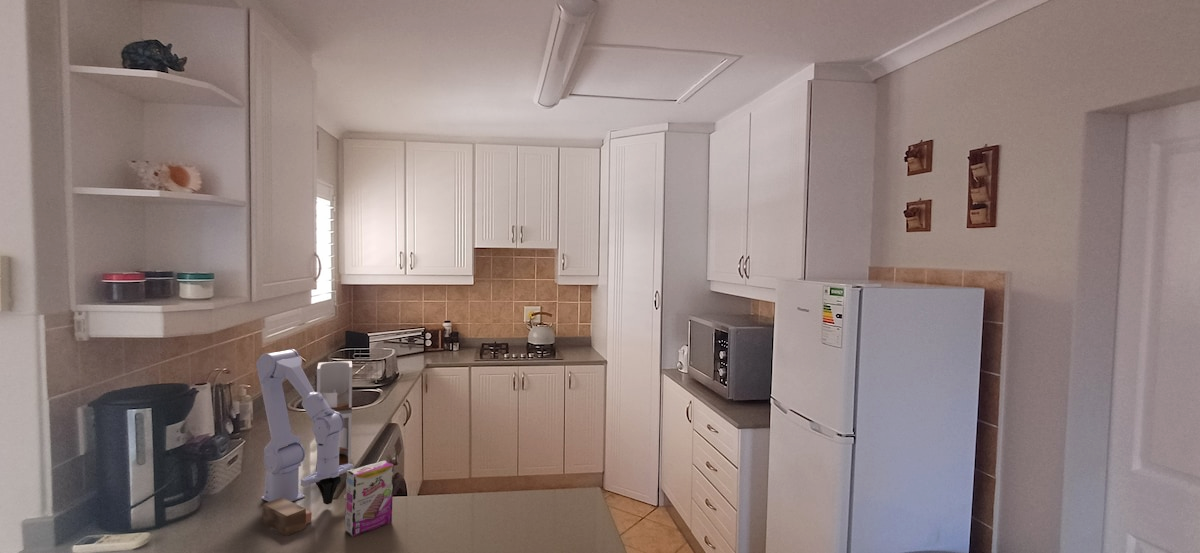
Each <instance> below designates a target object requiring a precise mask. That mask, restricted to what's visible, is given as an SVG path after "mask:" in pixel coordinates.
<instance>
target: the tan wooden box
mask: <svg viewBox="0 0 1200 553" xmlns="http://www.w3.org/2000/svg"><path fill="white" fill-rule="evenodd" d="M306 510H307V508H305V507H303V506H301V505H299V504H297V503H295V502H294V501H292V502H291V501H288V500H286V499H284V498H279V499H276V500H273V501H270V502H268V501H266V502H265V503H262V523H263V524H265V525H266V526H267V527H269V528H272V529H273V530H275V531H277V532H278V533H281V534H283V535H284V536H286V537H287V536H290V535H292V534H294V533H298V532H300V531H301V530H305V529H307V528H306V527H307V524H306Z"/></svg>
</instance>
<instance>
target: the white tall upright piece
mask: <svg viewBox="0 0 1200 553" xmlns="http://www.w3.org/2000/svg"><path fill="white" fill-rule="evenodd" d="M316 368H317V369H316V392H318V393H321V394H322V395H323V397H324V399H325V400H326V402H327V403H328V405H329V406H330V408H331V409H332V410H335V411H336V412H339V413H340V414H341V415H342V417H343V419H344V427H343V429H342V430H341V431H339V466H340V465H345V464H348V463H350V464H352V427H353V426H352V424H353V423H352V421H353V420H352V418H353V417H352V414H353V411H352V410H353V406H352V405H353V362H352V360H346V361H345V360H344V361H342V360H341V361H328V362H327V361H325V362H324V361H323V362H322V361H321V362H318V363H317V367H316ZM315 472H317V462H316V465H315Z"/></svg>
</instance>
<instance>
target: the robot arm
mask: <svg viewBox="0 0 1200 553" xmlns="http://www.w3.org/2000/svg"><path fill="white" fill-rule="evenodd" d="M302 365H303V359H302V358H301V357H300V353H298V351H297V350H296V349H293V348H289V349H286V350H281V351H276V352H275V351H274V352H266V353H263V354H261V355H260V356H259V357H258V359H257V361H256V363H255V366H256V371H257V375H258V380H259V384H260V389H261V394H262V398H263V399H262V400H263V404H264V408H265V414H266V418H267V425H268V429H269V435H270V441H269V442H268V443H267V444H266V446H265V447H264V448H263V454H264V456H263V465H264V468H265V469H266V470H267V471H266V473H265V476H264V495H262V496H261V499H262V500H264V501H266V502H270V501H273V500H276V499H279V498H284V499H286V500H288V501H291V502H294V501H297V500H300V499H304V498H305V495H304V494H303V493H301V492H299V484H300V486H301V487H303V488H307V487H309V486H310V485H313V484H315V485H316V487H317V488H318V490H319V492H320V495H321V498H322V502H323V504H325V505H330V504H332V503H333V500H334V496H335V493H336V490H337V488H338V486H339V484H340V482H341V480H342V478H341V477H340V475H342V474H345V473H347V470H351V469H354V464H352V463H351V464H350V463H348V464H345V465H340V466H339V431H341V430H342V429H343V427H344V419H343V417H342V415H341V414H340V413H339V412H336V411H335V410H332V409H331V408H330V406H329V405H328V403H327V402H326V400H325V399H324V397H323V395H322V394H321V393H318V392H317V391H315V390H314V388H313V386H312V384H311V383H310V380H309V378H308V377H307V375H306V374H305V370H304V369H303V368H302ZM285 379H286V380H288V382H289V383H290V385H292V386H293V388H294V389H295V391H296V392H297V393H298V394H299V396H301V398H302V402H301V407H303V409H304V411H305V413H306V414H307V415H308V417H309V419H310V420H311V422H312V423H313V425H312V426H311V430H312V432H313V435H314V437H315V438H314V440H315V443H316V463H317V472H316V471H315V472H313V473H311V474H309V475H308V476H304V477H303V478H300V483H299V476H300V475H299V474H300V471H299V469H300V467H301V466H302V462H303V461H304V460H305V458H306V449H305V447H304V445H303V444H302V441H301V438H300V437H298V436H297V435H296V434H295V435H294V434H293V432H292V429H291V423H290V419H289V413H288V407H287V403H286V398H285V392H284V388H283V387H284V386H283V381H284V380H285Z"/></svg>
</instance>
